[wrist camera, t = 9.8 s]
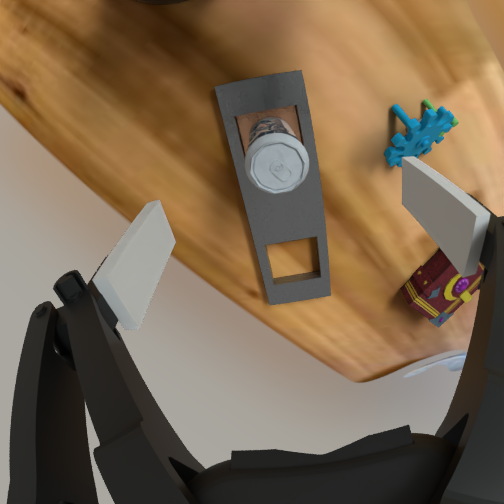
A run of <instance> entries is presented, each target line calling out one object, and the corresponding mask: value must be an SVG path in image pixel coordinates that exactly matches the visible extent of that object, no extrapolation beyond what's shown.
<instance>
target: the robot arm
mask: <svg viewBox="0 0 504 504" xmlns="http://www.w3.org/2000/svg"><path fill="white" fill-rule="evenodd" d="M136 1H138V2H142V3H146V4H155V5H163V4H173V3H179V2H183V1H186V0H136ZM402 204H403V206H404V207H405V208H406V209H407V210H408V211H409V212H410V213H411V214H412V215H413V217H414V218H415V219H416V220H417V221H418V222H419V223H420V225H421V226H422V227H423V228H424V229H425V230H426V232H427V233H428V234H429V235H430V236H431V237H432V239H433V240H434V241H435V242H436V244H437V245H438V246H439V247H440V249H441V250H442V251H443V252H444V254H445V255H446V256H447V257H448V259H449V260H450V261H451V263H452V264H453V265H454V267H455V268H456V269H457V271H458V272H459V273H460V275H461V276H462V278H463V277H467V276H470V275H474V274H476V272H477V268H478V265H479V261H480V262H481V264H482V265H483V266H484V270H483V273H482V276H481V279H480V282H479V285H478V288H477V289H478V290H480V294H479V300H478V306H477V312H476V317H475V322H474V327H473V332H472V336H471V340H470V344H469V348H468V352H467V356H466V359H465V363H464V366H463V370H462V373H461V376H460V380H459V383H458V385H457V389H456V391H455V394H454V397H453V400H452V402H451V405H450V408H449V410H448V413H447V415H446V417H445V419H444V421H443V422H442V424H441V426H440V427H439V429H438V431H437V432H436V434H435V436H434V435H429V434H420V433H411V431H410V427H409V425H406V426H403V427H399V428H396V429H393V430H388V431H385V432H381V433H377V434H373V435H368V436H366V437H364V438H362V439H360V440H358V441H355V442H353V443H351V444H349V445H346V446H344V447H342V448H340V449H337V450H335V451H332V452H329V453H327V454H323V455H316V454H306V453H298V452H290V451H283V450H276V449H271V450H248V451H247V450H246V451H232V453H231V460H227V461H224V462H221V463H218V464H216V465H214V466H211V467H209V468H208V469H205V468H204V467H203V466H202V465H201V464H200V463H199V462H198V461H197V460H196V459H195V458H194V457H193V456H192V455H191V454H190V452H189V451H188V450H187V448H186V447H185V446H184V444H183V443H182V441H181V440H180V438H179V437H178V435H177V434H176V433H175V431H174V429H173V428H172V426H171V425H170V423H169V422H168V420H167V419H166V417H165V416H164V414H163V413H162V411H161V409H160V408H159V406H158V404H157V403H156V401H155V399H154V398H153V396H152V394H151V392H150V391H149V389H148V387H147V385H146V384H145V382H144V380H143V379H142V377H141V375H140V373H139V371H138V369H137V367H136V365H135V363H134V361H133V360H132V358H131V356H130V354H129V352H128V350H127V348H126V346H125V344H124V341H123V339H122V337H121V335H120V333H119V332H118V330H117V329H116V328H115V327H116V324H117V322H118V321H119V322H120V323H121V325H122V326H123V328H124V329H125V330H135V329H140V327H141V325H142V322H143V320H144V317H145V314H146V312H147V309H148V307H149V304H150V302H151V299H152V297H153V294H154V292H155V289H156V287H157V284H158V282H159V280H160V277H161V275H162V273H163V270H164V268H165V265H166V263H167V261H168V259H169V257H170V254H171V252H172V250H173V248H174V245H175V243H176V241H175V238H174V236H173V233H172V231H171V228H170V226H169V223H168V221H167V218H166V215H165V213H164V210H163V208H162V205H161V202H160V200H156V201H152V202H148V203H147V204H146V205H145V206H144V208H143V209H142V210H141V212H140V213H139V214H138V215H137V217H136V218H135V219H134V221H133V222H132V223H131V225H130V226H129V228H128V229H127V230H126V231H125V233H124V234H123V236H122V237H121V238H120V240H119V241H118V243H117V244H116V245H115V247H114V248H113V250H112V251H111V252H110V254H109V255H108V256H107V257H106V258H105V259H104V260H103V262H102V263H101V266H99V268H98V269H97V272H95V274H94V275H93V277H92V278H91V280H90V281H89V283H88V285H87V284H86V283H85V281H84V280H83V278H82V276H81V275H80V273H79V272H78V271H77V270H73V271H70V272H68V273H66V274H64V275H63V276H62V277H60V278H59V279H58V281H57V282H56V283H55V285H54V288H53V289H54V291H55V292H56V294H57V295H58V297H59V298H60V300H61V301H62V302H63V304H64V306H62V307H60V308H57V309H55V307H54V306H53V304H52V303H51V302H50V301H47V302H44V303H42V304H39V305H38V307H36V308H35V310H34V311H33V313H32V315H31V318H30V321H29V325H28V328H27V332H26V336H25V340H24V344H23V349H22V353H21V358H20V362H19V367H18V373H17V378H16V384H15V391H14V399H13V406H12V416H11V429H10V484H9V491H8V499H7V504H99V503H98V498H97V492H96V487H95V482H94V477H93V471H92V465H91V459H90V452H89V445H88V437H87V427H86V415H85V402H86V405H87V408H88V411H89V414H90V417H91V420H92V423H93V426H94V429H95V431H96V434H97V436H98V439H99V442H100V446H99V447H96V448H95V449H94V452H93V454H94V458H95V461H96V464H97V466H98V469H99V471H100V473H101V475H102V478H103V480H104V482H105V484H106V486H107V489H108V491H109V493H110V495H111V497H112V499H113V501H114V503H115V504H504V216H501V217H497V216H496V215H495V214H493V213H492V212H491V211H490V210H489V209H488V208H486V207H485V206H483V204H482V203H480V202H478V200H477V199H476V198H474V197H473V196H472V195H470V194H468V193H466V192H464V191H463V190H461V189H460V188H459V187H457V186H456V185H455V184H453V183H452V182H451V181H449V180H448V179H447V178H445V177H444V176H442V175H441V174H440V173H438V172H437V171H435V170H434V169H432V168H431V167H429V166H428V165H426V164H425V163H423V162H422V161H420V160H419V159H417V158H416V157H414V156H410V157H402ZM55 350H56V351H57V353H56V351H55ZM84 399H85V400H84Z"/></svg>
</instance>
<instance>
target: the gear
mask: <svg viewBox="0 0 504 504" xmlns="http://www.w3.org/2000/svg"><path fill="white" fill-rule="evenodd" d="M423 103H424V104H425V106H426V107H427V108H428V110H426V111H425V112H424V114H423V118H422V119H419V120H416V118H414V119H412V120H411V119H410V118H409V117H408V116H407V115H406V113H405V112H404V111H403V110H402V109H401V108H400V107H399V105H398V104H395V105H393V106H392V108H391V109H392V111H393V112H394V113H395V114H396V115H397V116H398V118H399V119H400V120H401V121H402V122H403V124H404V125H405V126H406V131H407V132H408V133H407V135H406V136H404V137H403V136H402V134H401V133H397V134H396V135H395V136H394V137H393V138H392V139H391V141H392V142H393V144H394V145H395V146H396V148H393V147H392V146H390V147H388V148H387V149H386V150H385V152H384V155H385V156H386V161H387V162H388V164H389V165H390V167H392V166H394V165H395V164H396V165H397V166H398V167H402V157H410V156H414V157H416V158H417V159H418V156H419V155H420V153H421V152H423V154H424V155H425V154H427V153H428V152H430V151H431V150H432V149H431V144H432V143H433V142H434V141H435V142H436V143H437V144H438V143H440V142H441V141H442V140H443V139H444V137H443V136H442V135H444V133H447V132H448V131H449V130H450V129H451V128H452V127H455V126H456V125H457V124H458V121H457V120H456V118H455V117H454V116H453V114H452V113H451V112H450V111H446V109H445V108H444V107H443V106H441V107H440V108H439V109H438V110H436V109H435V108H434V107H433V106H432V104H431V103H430V102H429V101H428V100H427V99H425V100H424V101H423Z"/></svg>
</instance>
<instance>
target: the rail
mask: <svg viewBox="0 0 504 504" xmlns="http://www.w3.org/2000/svg"><path fill="white" fill-rule="evenodd" d="M215 91H216V95H217V99H218V103H219V107H220V111H221V115H222V118H223V122H224V126H225V130H226V134H227V138H228V142H229V146H230V150H231V153H232V157H233V161H234V165H235V169H236V173H237V177H238V181H239V185H240V189H241V193H242V197H243V201H244V205H245V208H246V212H247V216H248V220H249V224H250V228H251V232H252V236H253V240H254V244H255V248H256V252H257V256H258V260H259V264H260V268H261V272H262V276H263V280H264V284H265V288H266V292H267V296H268V300H269V304H270V305H276V304H283V303H289V302H296V301H302V300H308V299H314V298H320V297H326V296H331V289H330V273H329V259H328V246H327V235H326V224H325V215H324V206H323V197H322V189H321V181H320V173H319V166H318V159H317V152H316V146H315V139H314V133H313V127H312V121H311V116H310V110H309V105H308V100H307V94H306V89H305V84H304V80H303V75H302V70H299V71H292V72H285V73H278V74H272V75H267V76H261V77H256V78H251V79H246V80H241V81H237V82H232V83H228V84H224V85H220V86H216V87H215ZM295 106H296V109H295ZM296 111H297V115H296ZM235 116H236V117H235ZM297 116H298V120H297ZM266 117H276V118H280V119H282V120H284V121H285V122H287V123H288V125H289V126H290V127H291V129H292V131H293V132H294V134H295V135H296V137H297V138H298V140H299V141H300V142H301V138H302V142H301V144H302V143H303V146H304V147H305V149H306V151H307V153H308V157H309V170H308V173H307V176H306V178H305V179H304V181H303V182H302V183H301V184H300V185H299V186H298V187H297V188H296V189H294V190H292V191H290V192H287V193H281V194H271V193H267V192H264V191H262V190H260V189H259V188H257V187H256V186H255V185H254V184H253V183H252V182H251V181H250V180H249V178H248V176H247V174H246V171H245V155H246V153H247V149H248V143H249V136H250V131H251V129H252V127H253V126H254V125H255V123H257V122H258V121H259V120H261V119H263V118H266ZM236 118H237V121H236ZM298 121H299V125H298ZM237 122H238V125H237ZM238 126H239V129H238ZM299 127H300V131H299ZM239 130H240V133H239ZM300 132H301V136H300ZM240 134H241V137H240ZM241 138H242V141H241ZM242 142H243V145H242ZM243 146H244V149H243ZM244 151H245V154H244ZM310 237H316V242H317V251H318V261H319V271H315V272H309V273H303V274H297V275H291V276H285V277H279V278H273V274H272V270H271V265H270V261H269V257H268V252H267V248H266V245H269V244H275V243H280V242H286V241H292V240H298V239H304V238H310Z"/></svg>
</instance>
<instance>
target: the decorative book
mask: <svg viewBox="0 0 504 504" xmlns="http://www.w3.org/2000/svg"><path fill="white" fill-rule="evenodd" d="M483 270H484V266H483V265H482V264H481V262H480V261H479V265H478V268H477V272H476V274H474V275H470V276H467V277H463V278H462V276H461V275H460V273H459V272H458V271H457V269H456V268H455V267H454V265H453V264H452V263H451V261H450V260H449V259H448V257H447V256H446V255H445V254H444V252H443V251H442V250H441V249H440V250H439V251H438V252H437V253H436V254H435V255H434V256H433V257H432V258H431V259H430V260H429V261H428V262H427V263H426V264H425V265H424V266H423V267H422V266H420V267H419V268H418V269H417V270H416V271H415V272H414V273H413V274H412V275H413V277H412V278H411V279H410V280H409V281H408V282H407V283H406V284H405V285H404V286H403V287H402V288H401V290H402V292H403V294H404V296H405V298H406V300H407V302H408V303H409V305H410V306H412V307H413V308H414V309H416V310H417V311H419V312H420V313H421V314H423V315H424V316H425V317H427V318H428V319H429V321H430V322H432V323H433V324H434V325H436V326H437V327H440V326H441V325H442V324H443V323H444V322H445V321H446V320H447V319H449V318H450V317H451V316H452V315H453V314H454V313H453V312H455V311H456V310H457V309H458V308H459V307H460V306H461V305H462V304H463V303H464V302H465V303H467V302H468V301H469V300H470V299H471V298H472V296H471V295H472V294H473V293H474V292H475V291H476V290H477V288H478V285H479V282H480V279H481V276H482V273H483Z"/></svg>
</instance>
